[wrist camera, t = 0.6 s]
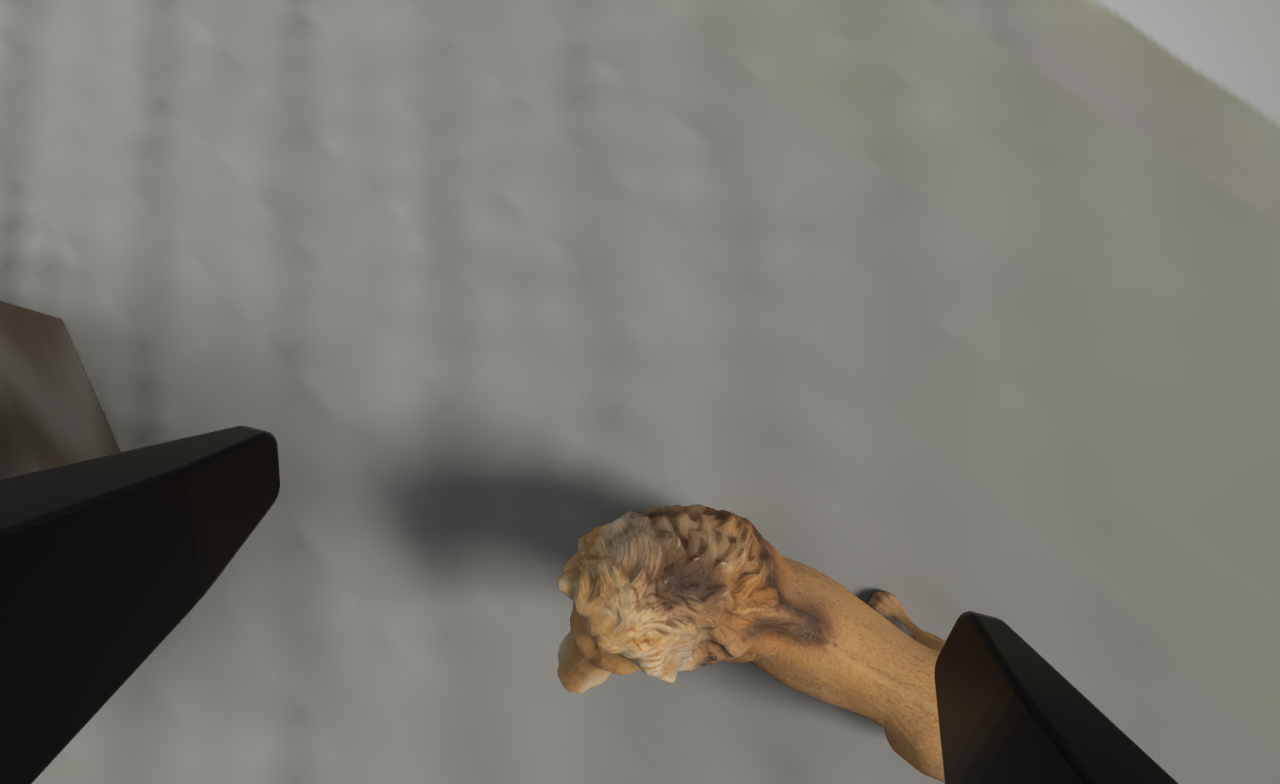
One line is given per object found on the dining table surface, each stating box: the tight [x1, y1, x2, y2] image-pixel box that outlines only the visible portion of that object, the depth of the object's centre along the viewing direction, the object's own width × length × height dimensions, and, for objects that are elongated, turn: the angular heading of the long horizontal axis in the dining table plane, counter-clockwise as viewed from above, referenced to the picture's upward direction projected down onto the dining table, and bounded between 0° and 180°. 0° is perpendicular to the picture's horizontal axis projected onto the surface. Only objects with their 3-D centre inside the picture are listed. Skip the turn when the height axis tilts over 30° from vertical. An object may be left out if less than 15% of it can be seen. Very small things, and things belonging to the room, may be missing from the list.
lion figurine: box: [557, 505, 946, 782], centre depth 18 cm, size 15×5×9 cm, turn 72°
